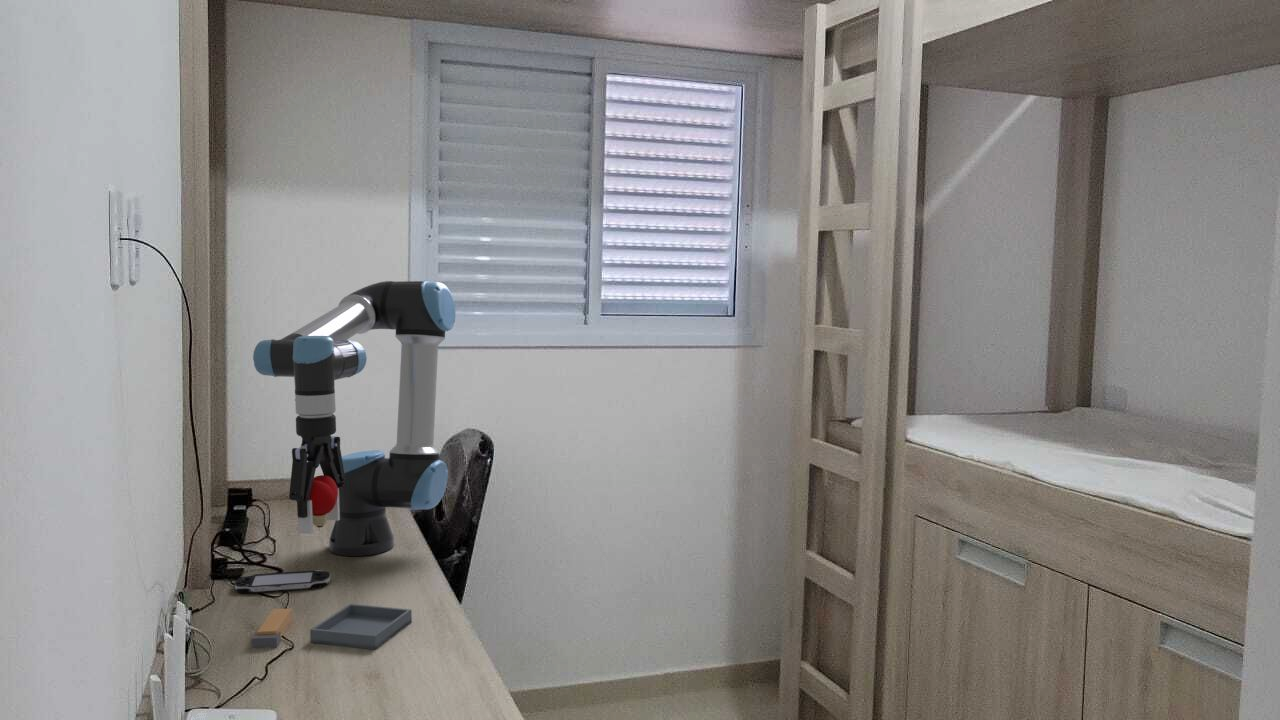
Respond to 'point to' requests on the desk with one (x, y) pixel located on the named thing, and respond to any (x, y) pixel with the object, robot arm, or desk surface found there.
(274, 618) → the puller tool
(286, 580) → the gaming console
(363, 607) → the parts tray
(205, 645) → the desk surface
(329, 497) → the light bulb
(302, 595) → the desk surface
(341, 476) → the robot arm
